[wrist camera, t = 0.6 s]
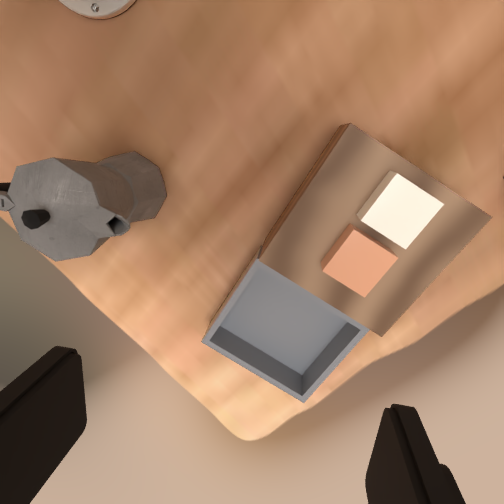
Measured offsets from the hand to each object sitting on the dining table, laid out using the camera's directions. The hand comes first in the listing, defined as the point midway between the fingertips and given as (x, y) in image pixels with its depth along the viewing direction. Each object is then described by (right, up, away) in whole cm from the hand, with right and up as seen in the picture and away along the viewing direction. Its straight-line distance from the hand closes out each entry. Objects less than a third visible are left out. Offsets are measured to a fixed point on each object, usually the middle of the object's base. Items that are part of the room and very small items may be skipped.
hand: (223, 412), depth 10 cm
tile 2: (+14, +9, +22) cm, 28 cm away
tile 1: (+11, +4, +24) cm, 27 cm away
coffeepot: (-16, +13, +34) cm, 39 cm away
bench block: (+13, +9, +31) cm, 35 cm away
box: (+5, -4, +36) cm, 37 cm away
